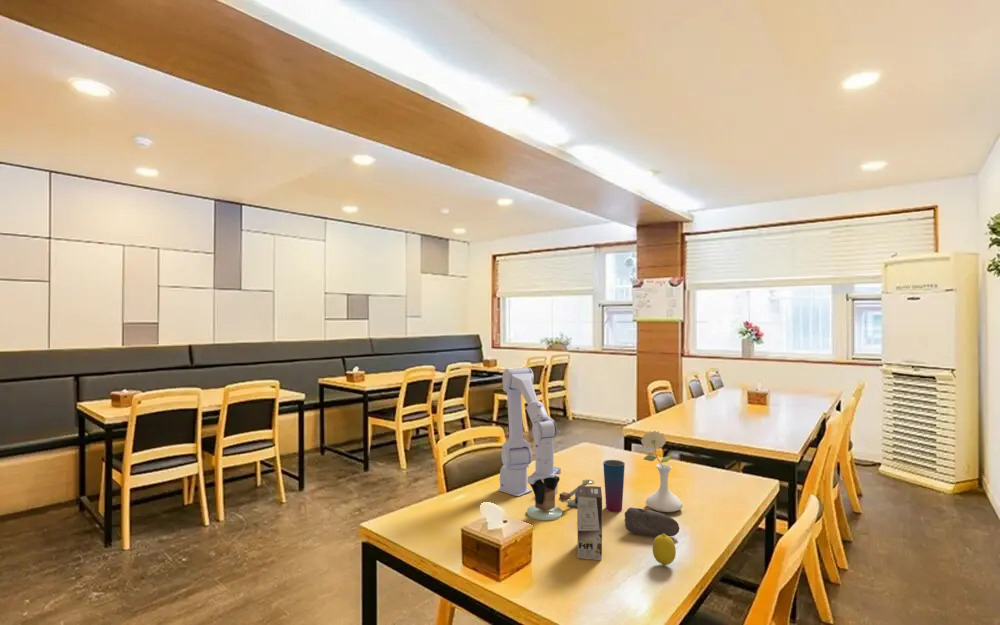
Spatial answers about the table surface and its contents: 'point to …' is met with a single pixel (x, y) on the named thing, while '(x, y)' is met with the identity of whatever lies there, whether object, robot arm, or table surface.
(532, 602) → the table surface
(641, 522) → the perforated stone tool
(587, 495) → the coffee box
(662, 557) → the lemon
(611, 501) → the cup
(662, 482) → the flower in vase
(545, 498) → the walnut block
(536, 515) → the dish
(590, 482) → the balance
